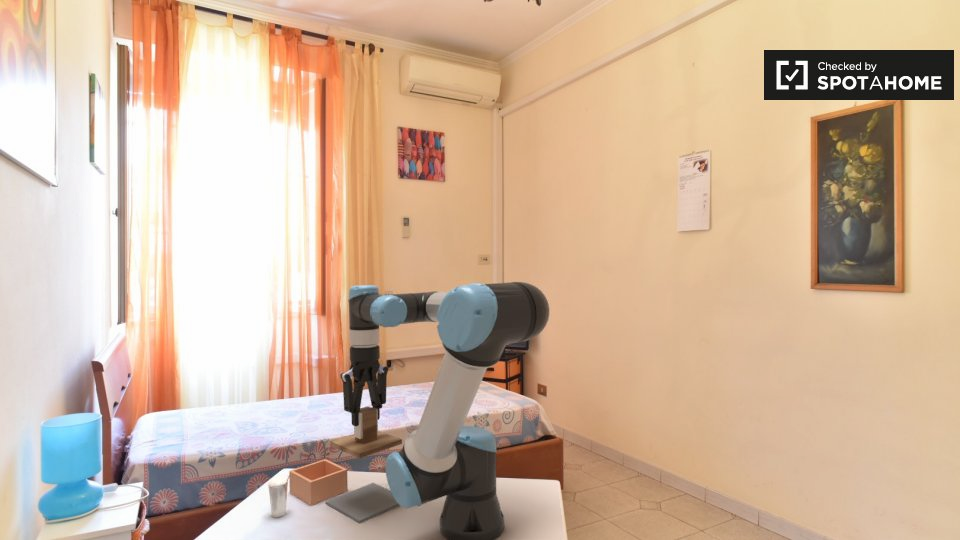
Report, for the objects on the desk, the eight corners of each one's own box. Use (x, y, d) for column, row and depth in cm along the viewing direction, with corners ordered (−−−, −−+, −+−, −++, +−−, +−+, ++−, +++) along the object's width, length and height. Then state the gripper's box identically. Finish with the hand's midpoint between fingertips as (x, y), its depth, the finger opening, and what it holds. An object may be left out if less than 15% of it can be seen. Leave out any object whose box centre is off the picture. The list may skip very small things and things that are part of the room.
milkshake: (285, 519, 127) (284, 479, 127) (265, 518, 128) (264, 477, 128) (294, 510, 132) (294, 471, 131) (275, 509, 133) (274, 470, 132)
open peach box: (347, 491, 143) (347, 469, 142) (310, 505, 134) (310, 482, 134) (325, 479, 150) (325, 459, 150) (289, 492, 142) (289, 470, 142)
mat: (407, 501, 136) (407, 499, 136) (359, 523, 125) (359, 520, 125) (373, 484, 146) (373, 482, 146) (325, 503, 135) (325, 501, 135)
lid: (401, 443, 136) (401, 408, 136) (359, 458, 126) (359, 420, 126) (371, 433, 144) (371, 399, 144) (330, 445, 135) (329, 410, 135)
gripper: (382, 339, 144) (383, 424, 144) (327, 348, 131) (329, 440, 131) (399, 342, 139) (401, 430, 139) (344, 351, 126) (346, 447, 126)
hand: (366, 435), depth 135 cm, fingers closed on lid, 4 cm apart
